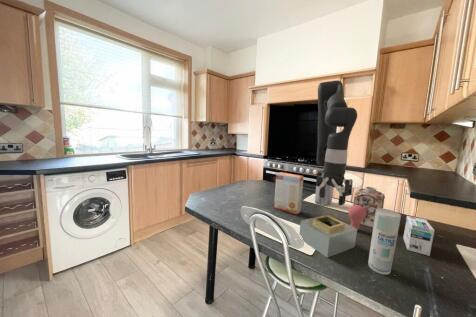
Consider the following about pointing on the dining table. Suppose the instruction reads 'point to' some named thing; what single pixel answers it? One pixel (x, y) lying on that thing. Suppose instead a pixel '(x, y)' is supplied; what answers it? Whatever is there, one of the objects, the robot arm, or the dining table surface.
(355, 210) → the light bulb
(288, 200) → the cracker box
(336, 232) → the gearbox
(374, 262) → the spray can
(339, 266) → the dining table surface
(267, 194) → the dining table surface
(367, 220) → the decorative jar
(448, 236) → the dining table surface
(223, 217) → the dining table surface
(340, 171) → the robot arm
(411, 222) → the light bulb box
